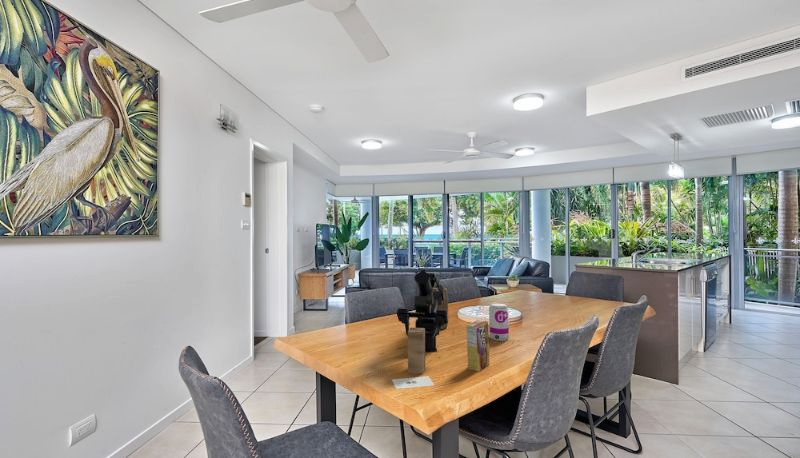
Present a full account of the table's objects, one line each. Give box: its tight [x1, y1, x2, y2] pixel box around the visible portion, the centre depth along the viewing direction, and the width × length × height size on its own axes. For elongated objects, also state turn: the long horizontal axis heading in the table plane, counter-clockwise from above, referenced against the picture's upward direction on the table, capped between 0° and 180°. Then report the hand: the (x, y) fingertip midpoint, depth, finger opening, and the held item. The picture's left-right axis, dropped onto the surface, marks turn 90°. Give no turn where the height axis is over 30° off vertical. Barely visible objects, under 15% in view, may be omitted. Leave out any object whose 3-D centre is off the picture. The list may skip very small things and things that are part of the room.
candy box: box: [466, 319, 491, 373], centre depth 120 cm, size 9×4×15 cm, turn 140°
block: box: [432, 286, 449, 330], centre depth 174 cm, size 11×8×20 cm
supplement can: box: [488, 302, 510, 342], centre depth 154 cm, size 8×8×15 cm
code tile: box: [391, 375, 435, 390], centre depth 107 cm, size 12×7×1 cm, turn 102°
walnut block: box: [407, 327, 426, 375], centre depth 117 cm, size 5×5×14 cm
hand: (419, 336), depth 123 cm, fingers open, 9 cm apart
